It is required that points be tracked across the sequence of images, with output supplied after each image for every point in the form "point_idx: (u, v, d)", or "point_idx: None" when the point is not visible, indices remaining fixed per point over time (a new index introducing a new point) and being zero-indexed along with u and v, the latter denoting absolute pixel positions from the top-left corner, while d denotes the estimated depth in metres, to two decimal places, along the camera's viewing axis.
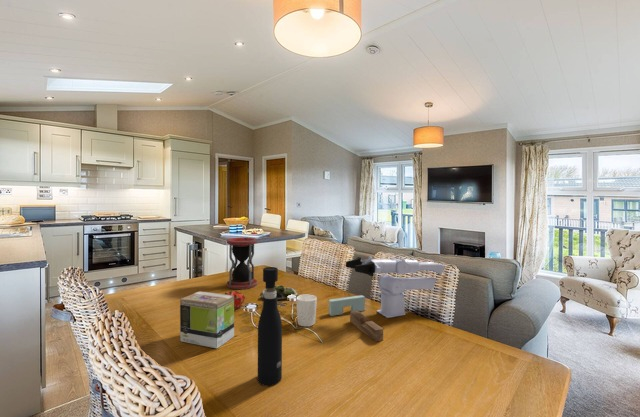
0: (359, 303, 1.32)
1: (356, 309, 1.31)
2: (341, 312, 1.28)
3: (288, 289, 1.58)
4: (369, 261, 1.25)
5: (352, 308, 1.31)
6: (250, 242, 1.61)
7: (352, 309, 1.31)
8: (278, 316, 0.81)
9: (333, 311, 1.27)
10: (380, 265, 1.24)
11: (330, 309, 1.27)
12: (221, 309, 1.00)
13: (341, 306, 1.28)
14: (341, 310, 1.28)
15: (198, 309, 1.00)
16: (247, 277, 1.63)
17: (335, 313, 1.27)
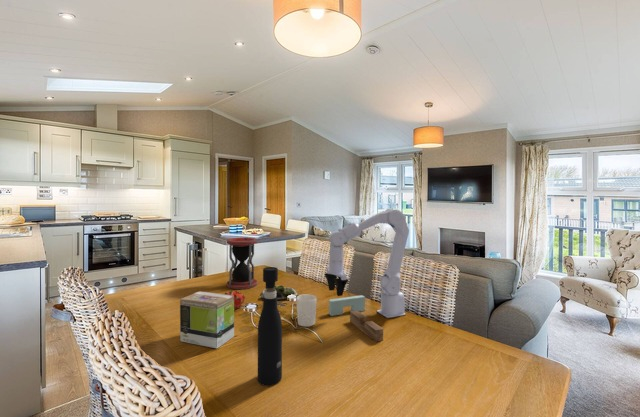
0: (359, 303, 1.32)
1: (356, 309, 1.31)
2: (341, 312, 1.28)
3: (288, 289, 1.58)
4: None
5: (352, 308, 1.31)
6: (250, 242, 1.61)
7: (352, 309, 1.31)
8: (278, 316, 0.81)
9: (333, 311, 1.27)
10: (337, 265, 1.25)
11: (330, 309, 1.27)
12: (221, 309, 1.00)
13: (341, 306, 1.28)
14: (341, 310, 1.28)
15: (198, 309, 1.00)
16: (247, 277, 1.63)
17: (335, 313, 1.27)
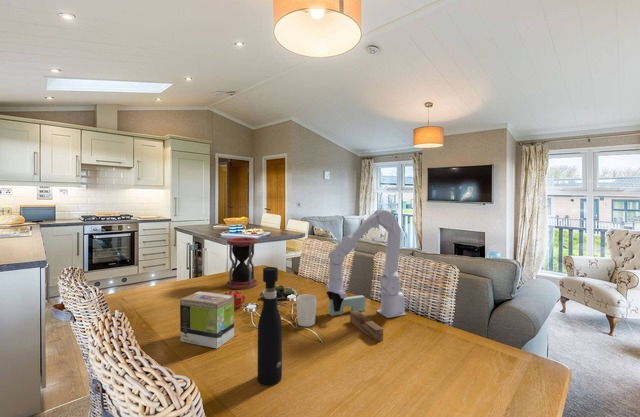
0: (359, 303, 1.32)
1: (356, 309, 1.31)
2: (341, 312, 1.28)
3: (288, 289, 1.58)
4: None
5: (352, 308, 1.31)
6: (250, 242, 1.61)
7: (352, 309, 1.31)
8: (278, 316, 0.81)
9: (333, 311, 1.27)
10: (336, 283, 1.25)
11: (330, 309, 1.27)
12: (221, 309, 1.00)
13: (341, 306, 1.28)
14: (341, 310, 1.28)
15: (198, 309, 1.00)
16: (247, 277, 1.63)
17: (335, 313, 1.27)
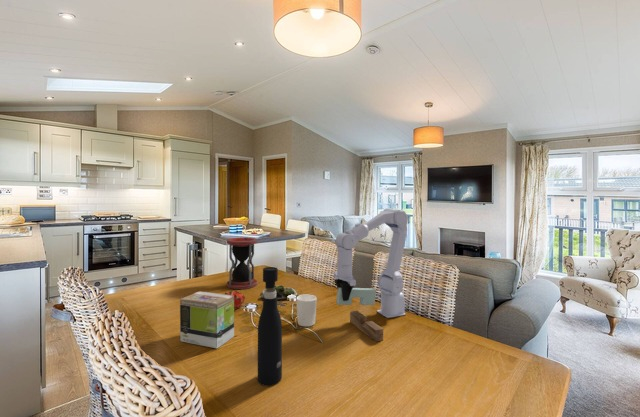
0: (369, 296, 1.22)
1: (365, 302, 1.22)
2: (349, 303, 1.19)
3: (288, 289, 1.58)
4: None
5: (361, 300, 1.22)
6: (250, 242, 1.61)
7: (361, 301, 1.22)
8: (278, 316, 0.81)
9: (342, 301, 1.17)
10: (345, 270, 1.16)
11: (338, 298, 1.18)
12: (221, 309, 1.00)
13: (350, 296, 1.19)
14: (350, 300, 1.19)
15: (198, 309, 1.00)
16: (247, 277, 1.63)
17: (343, 303, 1.18)
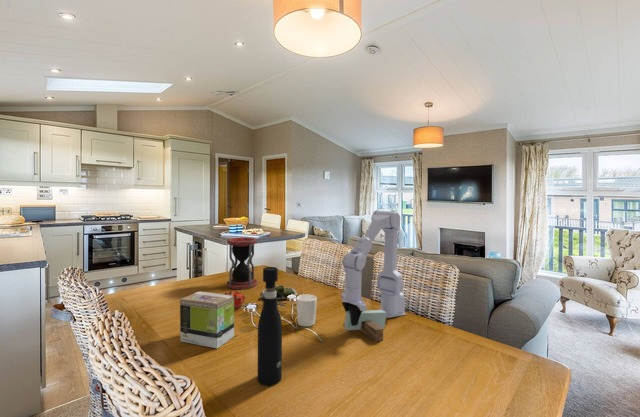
0: (379, 319, 1.14)
1: None
2: (358, 327, 1.11)
3: (288, 289, 1.58)
4: None
5: None
6: (250, 242, 1.61)
7: None
8: (278, 316, 0.81)
9: (350, 325, 1.09)
10: (354, 292, 1.08)
11: (347, 322, 1.10)
12: (221, 309, 1.00)
13: (359, 320, 1.11)
14: (359, 325, 1.11)
15: (198, 309, 1.00)
16: (247, 277, 1.63)
17: (352, 328, 1.10)
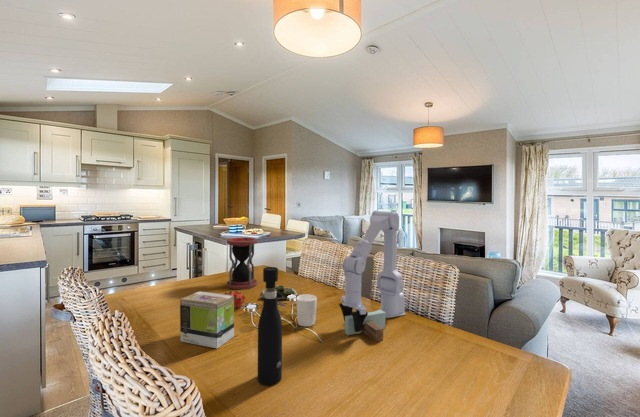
0: (379, 320, 1.14)
1: None
2: None
3: (288, 289, 1.58)
4: None
5: None
6: (250, 242, 1.61)
7: None
8: (278, 316, 0.81)
9: (350, 330, 1.09)
10: (354, 296, 1.08)
11: (346, 327, 1.10)
12: (221, 309, 1.00)
13: None
14: None
15: (198, 309, 1.00)
16: (247, 277, 1.63)
17: (352, 332, 1.10)
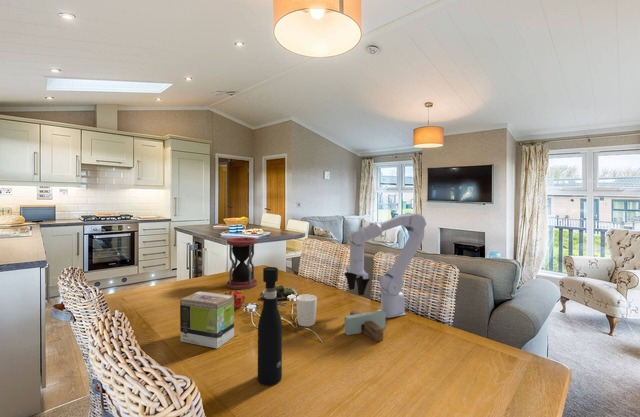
0: (379, 320, 1.14)
1: None
2: (359, 331, 1.11)
3: (288, 289, 1.58)
4: None
5: None
6: (250, 242, 1.61)
7: None
8: (278, 316, 0.81)
9: (350, 330, 1.09)
10: (358, 264, 1.23)
11: (346, 327, 1.10)
12: (221, 309, 1.00)
13: (359, 324, 1.11)
14: (359, 328, 1.11)
15: (198, 309, 1.00)
16: (247, 277, 1.63)
17: (352, 332, 1.10)
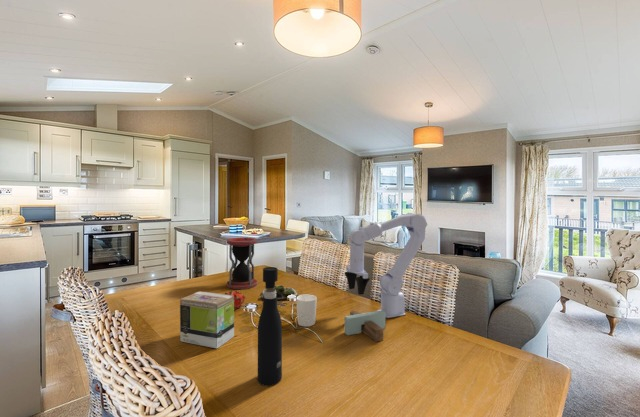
0: (379, 320, 1.14)
1: None
2: (359, 331, 1.11)
3: (288, 289, 1.58)
4: None
5: None
6: (250, 242, 1.61)
7: None
8: (278, 316, 0.81)
9: (350, 330, 1.09)
10: (358, 263, 1.24)
11: (346, 327, 1.10)
12: (221, 309, 1.00)
13: (359, 324, 1.11)
14: (359, 328, 1.11)
15: (198, 309, 1.00)
16: (247, 277, 1.63)
17: (352, 332, 1.10)
